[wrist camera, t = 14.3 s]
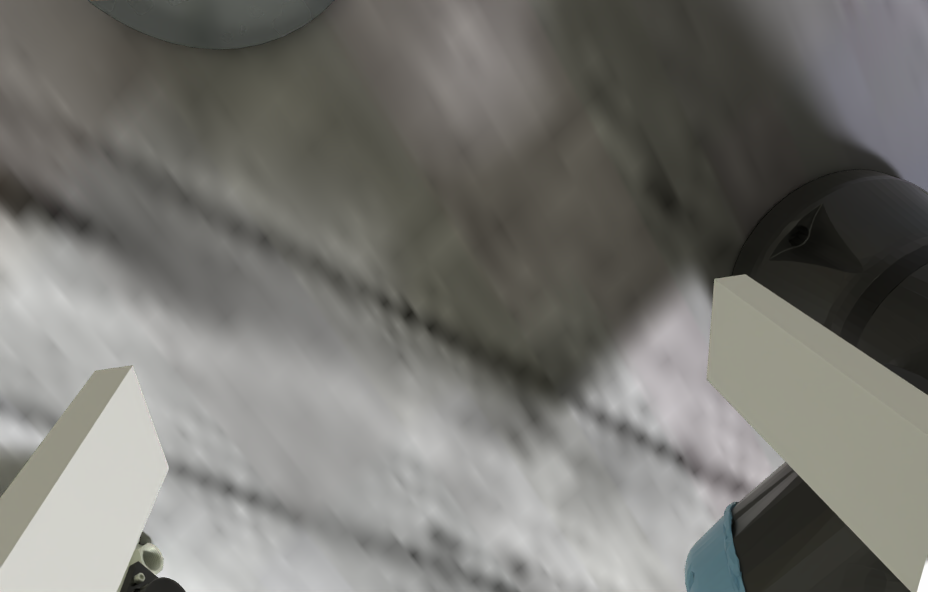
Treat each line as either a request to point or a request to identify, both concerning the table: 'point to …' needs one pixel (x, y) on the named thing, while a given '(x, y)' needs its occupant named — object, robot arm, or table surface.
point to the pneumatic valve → (146, 572)
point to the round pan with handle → (214, 19)
